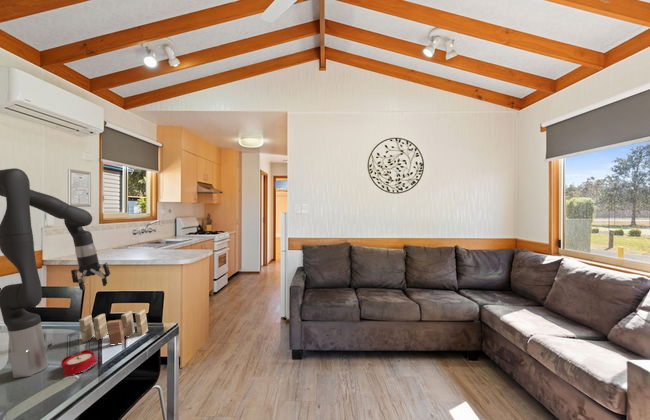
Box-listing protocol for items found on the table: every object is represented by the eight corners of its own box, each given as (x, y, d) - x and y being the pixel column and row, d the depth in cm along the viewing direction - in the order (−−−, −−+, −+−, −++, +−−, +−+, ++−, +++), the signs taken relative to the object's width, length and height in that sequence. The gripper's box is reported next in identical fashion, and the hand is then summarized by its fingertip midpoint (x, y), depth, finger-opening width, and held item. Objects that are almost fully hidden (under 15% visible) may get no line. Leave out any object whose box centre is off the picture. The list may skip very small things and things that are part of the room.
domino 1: (94, 336, 150) (91, 315, 150) (87, 341, 145) (83, 319, 145) (90, 336, 150) (86, 315, 150) (82, 342, 145) (79, 320, 145)
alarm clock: (65, 371, 114) (56, 350, 124) (67, 386, 115) (58, 364, 125) (100, 357, 122) (89, 338, 131) (102, 372, 123) (90, 352, 133)
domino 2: (108, 334, 151) (104, 313, 150) (101, 340, 146) (97, 318, 145) (103, 335, 151) (100, 314, 150) (96, 340, 146) (93, 318, 145)
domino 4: (148, 330, 151) (145, 309, 151) (142, 335, 146) (139, 313, 146) (143, 331, 151) (140, 309, 150) (138, 336, 146) (135, 314, 145)
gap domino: (122, 344, 139) (118, 321, 138) (110, 345, 139) (106, 322, 138) (124, 342, 141) (121, 319, 140) (112, 343, 141) (109, 320, 140)
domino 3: (134, 331, 151) (131, 310, 150) (128, 337, 146) (125, 315, 145) (130, 332, 151) (127, 311, 150) (124, 337, 146) (121, 315, 145)
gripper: (64, 259, 145) (73, 294, 148) (101, 253, 150) (109, 286, 152) (71, 255, 152) (79, 288, 155) (106, 249, 157) (114, 281, 159)
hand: (94, 287), depth 153 cm, fingers open, 8 cm apart
